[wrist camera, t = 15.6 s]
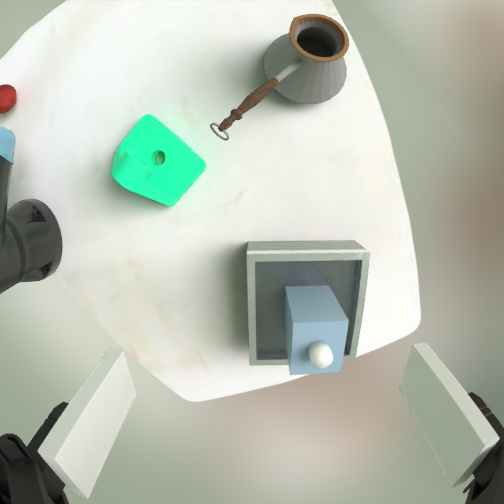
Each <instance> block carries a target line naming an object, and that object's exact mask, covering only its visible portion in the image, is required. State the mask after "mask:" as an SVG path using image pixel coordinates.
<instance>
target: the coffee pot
mask: <svg viewBox="0 0 504 504" xmlns="http://www.w3.org/2000/svg"><path fill="white" fill-rule="evenodd" d="M348 47H349V39H348V36H347V33H346V31H345V30H344V28H343V27H342V26H341V25H340V24H339V23H338V22H337V21H335V20H334V19H332V18H330V17H327V16H325V15H320V14H307V15H302V16H298V17H295V18H294V19H293V21H292V23H291V27H290V32H289V33H288V34H285V35H282V36H281V37H279V38H278V39H276V40H275V41H274V42H273V43H272V44H271V45H270V46H269V47H268V49H267V51H266V54H265V56H264V71H265V75H266V77H267V79H268V81H267V82H266V83H265V84H263V85H262V86H260V87H259V88H258V89H256V90H255V91H254V92H252V93H251V94H250V95H248V96H247V97H246V99H245V100H244V101H243V102H242V103H241V105H240V106H239V107H238V108H237V109H233V110H232V111H231V115H230V116H229V117H228V118H226V119H224V120H223V122H222V123H221V124H220V126H219V125H218V124H216V123H212V124H213V125H215V126H217V127H218V129H219V130H220V131H221V132H224V133H225V134H226V136H227V139H226V138H223V137H222V136H220V135H219V134H218V133H217V132H216V131H215V130H214V128H213V127H212V124H210V127H211V129H212V130H213V132H214V133H215V134H216V135H217V136H218V137H220V138H221V139H223V140H228V139H229V135H228V133H227V132H226V131H225V130H226V129H227V128H229V127H230V126H231V125H232V123H233V122H234V121H235V120H240V119H241V118H242V114H244V113H245V112H247V111H248V110H249V109H251V108H253V107H254V106H256V105H257V104H258V103H259V102H260V101H261V100H262V99H263V98H264V97H265V96H266V95H267V94H268V93H269V92H270V91H271V90H272V89H273V88H274V89H275V90H276V91H277V92H278V93H279V94H281V95H283V96H284V97H286V98H287V99H290V100H292V101H295V102H298V103H305V104H314V103H321V102H324V101H327V100H329V99H331V98H332V97H334V96H335V95H336V94H338V93H339V91H340V90H341V88H342V87H343V85H344V82H345V79H346V64H345V61H344V57H343V56H344V55H345V53H346V52H347V50H348Z"/></svg>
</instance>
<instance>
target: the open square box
mask: <svg viewBox="0 0 504 504" xmlns="http://www.w3.org/2000/svg"><path fill="white" fill-rule="evenodd" d="M369 258H370V252H369V251H368V250H366V249H365V248H364V247H363V246H361V245H360V244H359V243H357V242H356V241H262V242H248V247H247V291H248V327H249V362H250V365H289V364H288V357H287V350H286V343H285V336H284V312H285V287H292V286H329V287H330V288H331V290H332V292H333V294H334V295H335V297H336V299H337V301H338V302H339V304H340V306H341V308H342V309H343V311H344V313H345V315H346V316H347V318H348V320H349V323H348V330H347V336H346V343H345V349H344V355H343V361H349V360H355V356H356V351H357V346H358V340H359V334H360V328H361V322H362V316H363V309H364V302H365V294H366V286H367V278H368V268H369Z"/></svg>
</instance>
